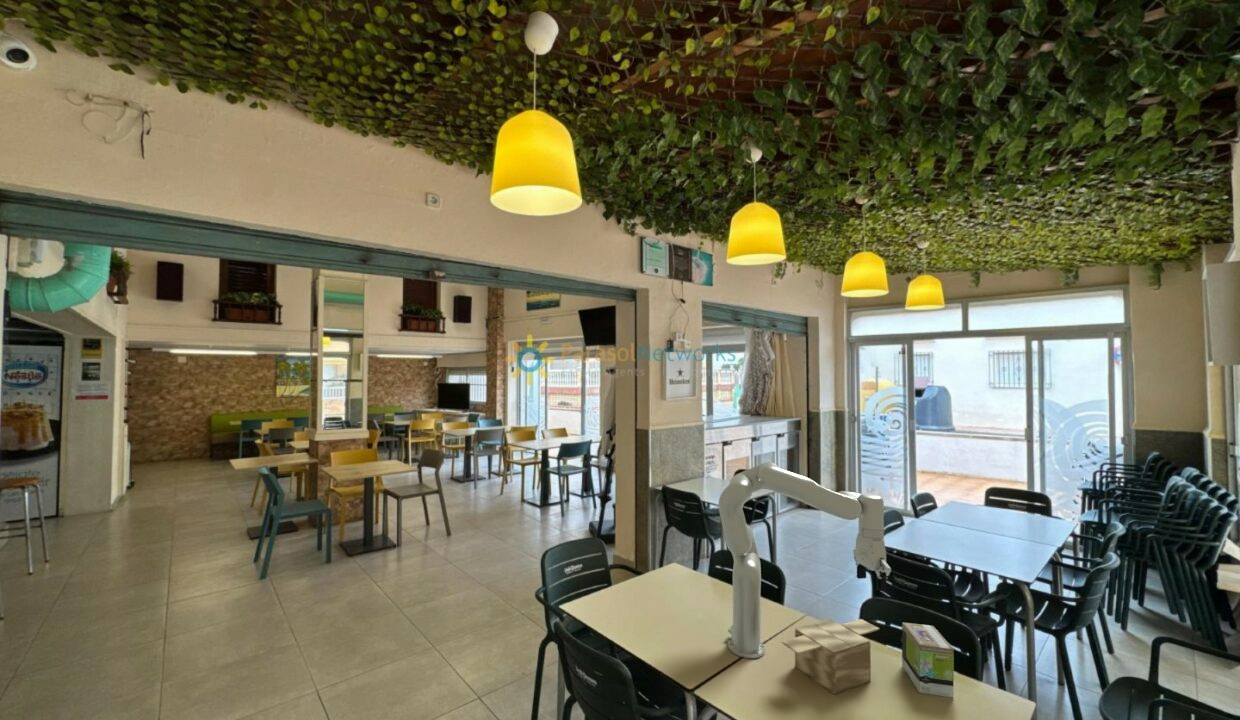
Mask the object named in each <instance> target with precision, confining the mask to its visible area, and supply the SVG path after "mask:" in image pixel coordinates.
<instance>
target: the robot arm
mask: <svg viewBox="0 0 1240 720" xmlns="http://www.w3.org/2000/svg"><path fill="white" fill-rule="evenodd" d="M762 489H766V490H768V491H771V492H774V493H776V494H780V495H783V496H785V497H788V498H791V499H794V500H796V501H799V502H802V503H803V504H806V505H808V506H810V507H813V508H815V509H817V510H819V511H821V512H824V513H826V514H829V515H832V516H834V517H838V518H840V519H843V520H847V521H854V520H857V519H858V533H857V535H856V538H855V547H854V548H855V549H852V553H853V556H854V557H853V559H854V562H855V566H856V578H857V579H859V580H860V579H861V580H862V579H866V578H867V569H868V570H870V571H873V572H875V574H876V576H877V577H876V578H875V579H876V580H875V581H876V583H875V584H876V585H875V587H876V591H878V592H880V591H881V592H882V591H883V592H884V591H887V580H888V578H889V576H890V574H891V572H892V568H891V566H890V565H889V564H888V563H887V551H886V545H885V538H884V537H885V535H884V534H885V526H884V525H885V524H884V523H885V522H884V518H885V517H884V516H885V515H884V514H885V513H884V511H885V509H884V508H885V506H884V502H885V501H884V499H883V497H882V496H880V495H877V494H872V493H859V492H858V493H857V492H851V491H848V490H840V491H837V492H835V491H833V490H831V489H828V488H825V487H824V486H823V485H820V484H819V483H817V482H816V481H814V480H813V479H811V478H809V477H807V476H805V475H802V474H798V473H795V472H792V471H789V470H786V469H784V468H781V467H779V466H778V465H777V464H776V463H774V462H772V461H767V462H763V463H761V464H760V463H759V464H757V465H756V466H753V467H751V468H748V469H747V470H744V471H742V472H741V471H740V472H739V473H737V474H735V475H734V476H732V477H731V479H730V481H729V484H728V485H727V486H726V488H725V489H723V491H722V492H721V493H720V496H719V499H718V504H717V505H718V513H719V517H720V521H721V525H722V529H723V533H724V537H725V543H726V546H727V548H728V550H729V551H730V552H731V555H732V558H733V567H732V568H733V569H732V625H731V626H730V628H728V629H727V633H728V634H730V636H731V638H730V639H729V640H728V645H727V646H728V650H729V651H730V652H732V654H734V655H736V656H738V657H741V658H745V659H757V658H761V657H762V656H764V655H765V654H766V647H765V645H764V644H763V642H761V609H762V607H761V605H762V604H761V592H762V591H761V587H762V583H761V582H762V573H761V572H762V570H761V569H762V567H761V560H760V555H759V552H758V548H757V545H756V539H755V538H754V534H753V531H752V528H751V527H750V525H748V524H747V521H746V516H745V513H744V510H743V508H744V505H745V503H747V502H748V501H749V500H750V499H751V497H752V496H753V493H755V492H757V491H758V492H759V491H761V490H762ZM880 572H881V573H880Z"/></svg>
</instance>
